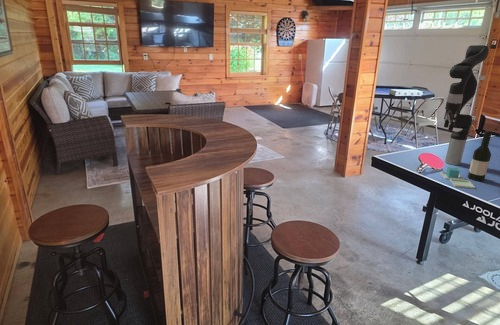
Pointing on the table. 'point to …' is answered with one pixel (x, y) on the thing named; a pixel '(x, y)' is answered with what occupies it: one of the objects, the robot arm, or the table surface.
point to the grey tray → (451, 178)
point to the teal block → (452, 172)
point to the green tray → (462, 183)
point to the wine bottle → (480, 159)
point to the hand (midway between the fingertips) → (447, 129)
